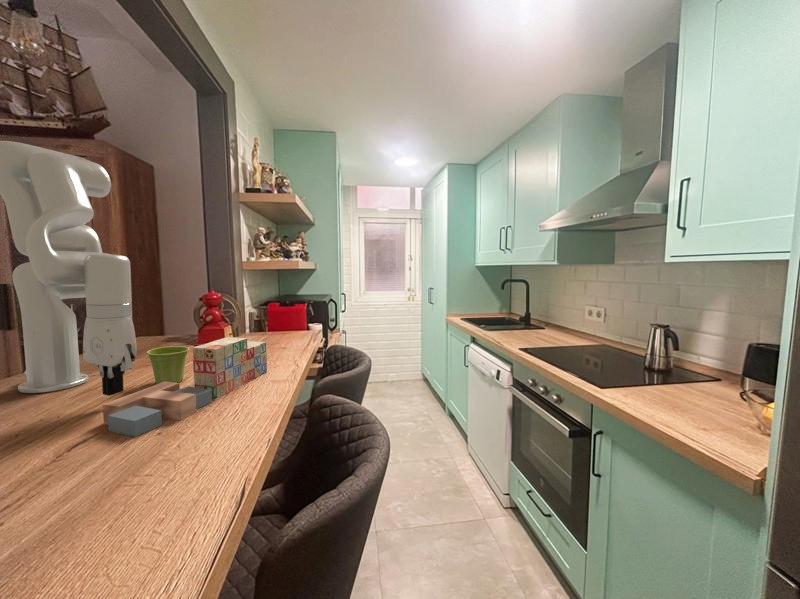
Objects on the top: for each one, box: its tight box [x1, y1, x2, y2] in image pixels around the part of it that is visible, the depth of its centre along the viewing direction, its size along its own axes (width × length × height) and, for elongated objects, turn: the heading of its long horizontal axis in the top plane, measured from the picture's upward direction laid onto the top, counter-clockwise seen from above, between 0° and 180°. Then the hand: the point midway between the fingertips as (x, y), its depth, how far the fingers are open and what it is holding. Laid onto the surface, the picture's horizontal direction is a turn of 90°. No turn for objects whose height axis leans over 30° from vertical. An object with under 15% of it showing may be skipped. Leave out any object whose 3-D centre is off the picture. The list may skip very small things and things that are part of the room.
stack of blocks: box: [192, 336, 268, 399], centre depth 91 cm, size 21×6×12 cm, turn 170°
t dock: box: [107, 385, 213, 438], centre depth 71 cm, size 7×17×3 cm, turn 163°
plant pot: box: [146, 345, 190, 385], centre depth 91 cm, size 9×9×9 cm
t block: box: [102, 382, 197, 425], centre depth 72 cm, size 13×14×4 cm
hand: (113, 392), depth 76 cm, fingers closed
